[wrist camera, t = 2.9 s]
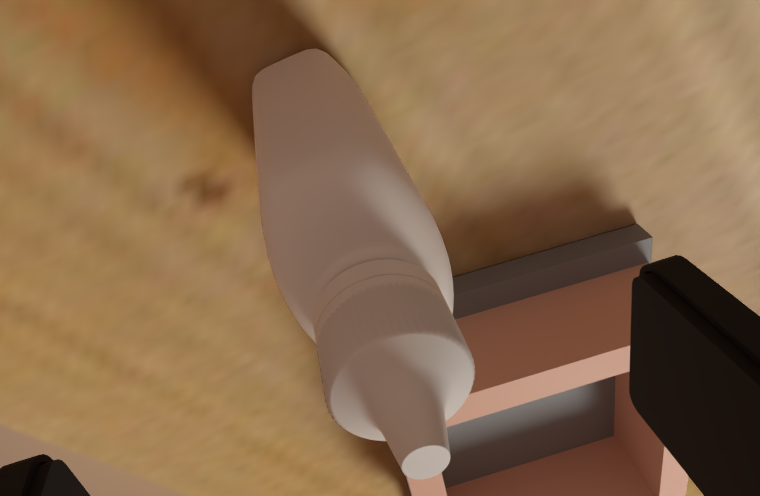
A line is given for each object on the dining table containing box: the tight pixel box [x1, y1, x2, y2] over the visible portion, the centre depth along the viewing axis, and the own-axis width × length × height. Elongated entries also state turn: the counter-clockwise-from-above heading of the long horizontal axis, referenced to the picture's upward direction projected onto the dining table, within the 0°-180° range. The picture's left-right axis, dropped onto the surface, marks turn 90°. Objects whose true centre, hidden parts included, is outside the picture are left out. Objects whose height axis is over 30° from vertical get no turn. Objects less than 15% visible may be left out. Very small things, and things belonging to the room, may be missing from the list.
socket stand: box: [405, 224, 688, 496], centre depth 24 cm, size 13×11×4 cm
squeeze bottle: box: [252, 48, 475, 479], centre depth 13 cm, size 4×6×12 cm
